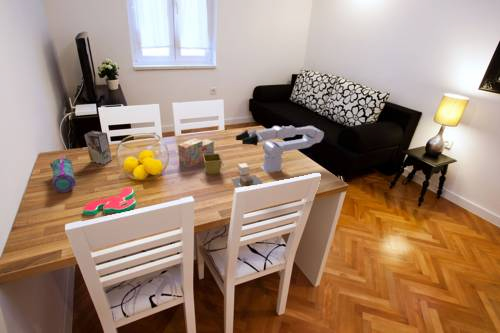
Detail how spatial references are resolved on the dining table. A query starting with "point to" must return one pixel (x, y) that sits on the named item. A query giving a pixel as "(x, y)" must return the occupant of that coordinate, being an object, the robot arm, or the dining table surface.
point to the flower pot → (212, 163)
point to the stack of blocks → (194, 151)
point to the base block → (246, 181)
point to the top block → (243, 169)
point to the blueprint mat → (254, 177)
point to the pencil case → (63, 175)
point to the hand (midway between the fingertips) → (239, 140)
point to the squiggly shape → (112, 203)
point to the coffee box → (98, 147)
